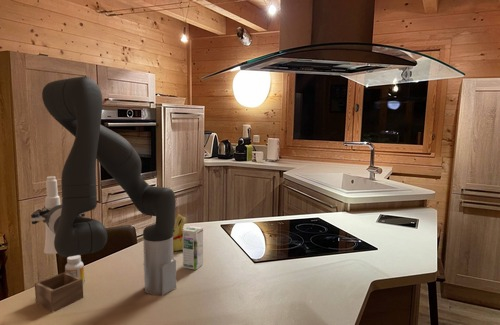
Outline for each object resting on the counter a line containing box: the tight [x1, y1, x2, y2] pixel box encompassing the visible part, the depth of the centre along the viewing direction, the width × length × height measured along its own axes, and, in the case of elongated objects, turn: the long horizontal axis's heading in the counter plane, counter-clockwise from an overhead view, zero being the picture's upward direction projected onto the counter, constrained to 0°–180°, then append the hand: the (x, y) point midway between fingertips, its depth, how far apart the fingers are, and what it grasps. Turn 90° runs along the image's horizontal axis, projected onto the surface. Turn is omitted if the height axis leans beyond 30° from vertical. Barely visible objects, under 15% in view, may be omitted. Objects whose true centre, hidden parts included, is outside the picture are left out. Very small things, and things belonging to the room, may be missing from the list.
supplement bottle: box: [64, 255, 85, 286], centre depth 115 cm, size 5×5×10 cm
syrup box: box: [182, 225, 204, 271], centre depth 131 cm, size 6×6×14 cm
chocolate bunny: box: [173, 213, 187, 252], centre depth 146 cm, size 7×11×15 cm, turn 116°
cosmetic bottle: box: [43, 175, 62, 255], centre depth 103 cm, size 6×6×22 cm
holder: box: [34, 271, 84, 312], centre depth 106 cm, size 9×9×6 cm
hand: (52, 208), depth 105 cm, fingers closed on cosmetic bottle, 3 cm apart
